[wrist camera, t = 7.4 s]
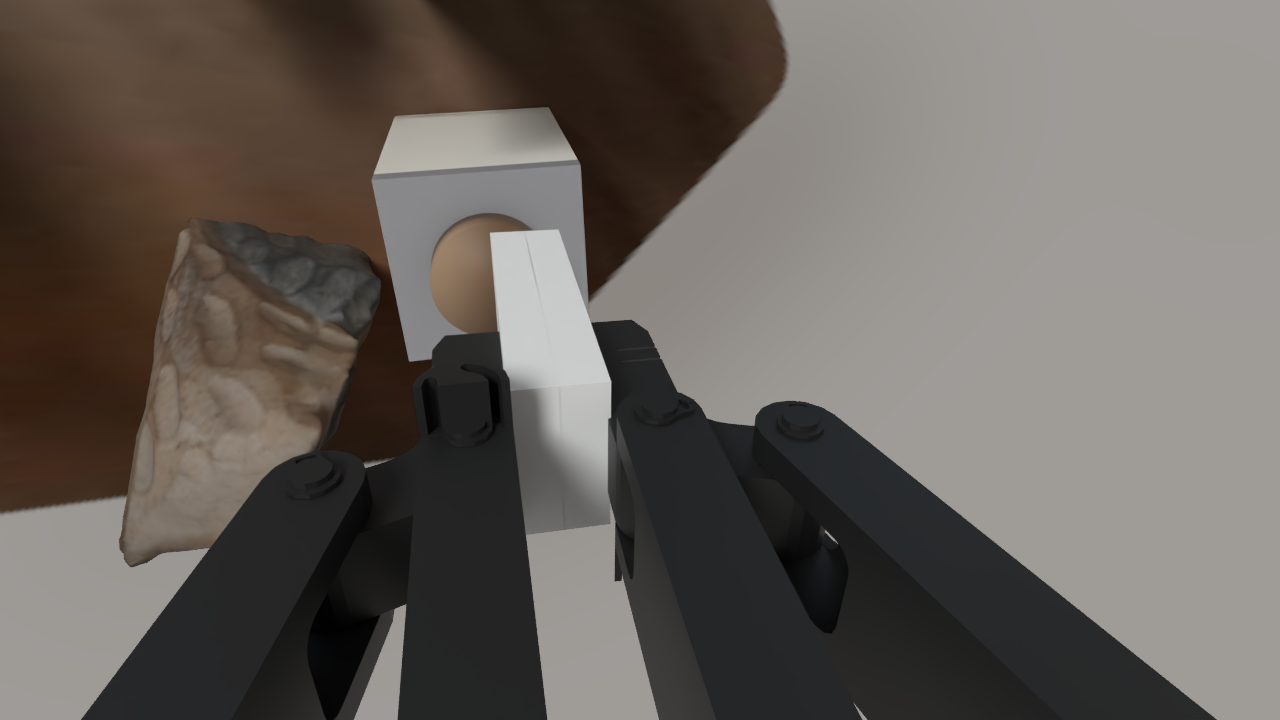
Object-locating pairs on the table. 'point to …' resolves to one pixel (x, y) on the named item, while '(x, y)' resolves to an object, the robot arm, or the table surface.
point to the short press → (470, 197)
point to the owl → (240, 375)
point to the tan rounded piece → (468, 271)
